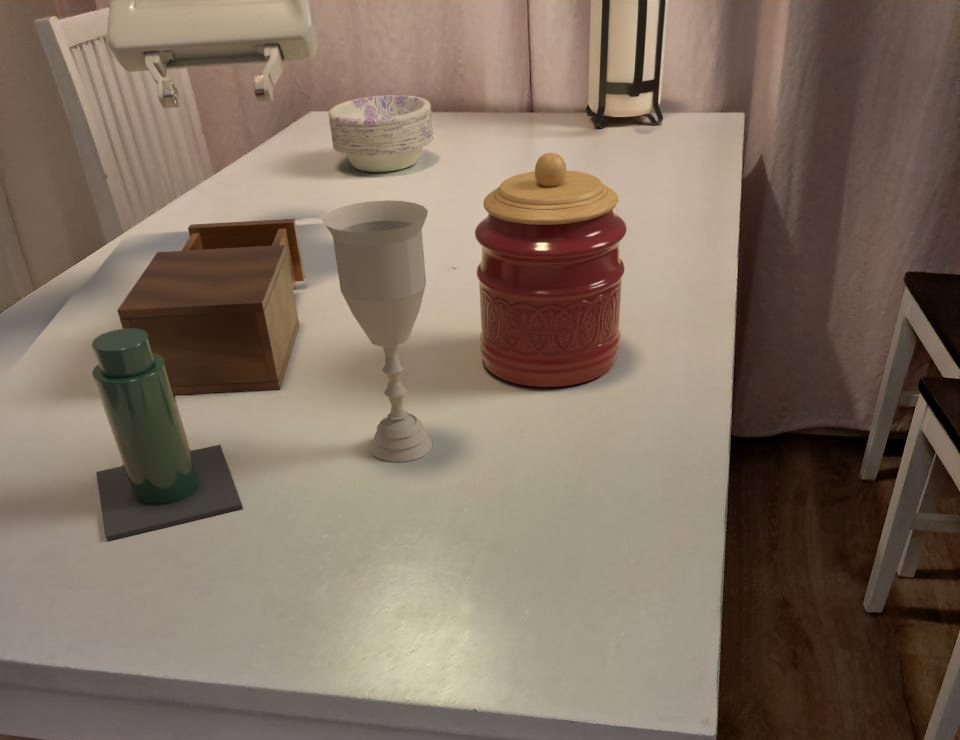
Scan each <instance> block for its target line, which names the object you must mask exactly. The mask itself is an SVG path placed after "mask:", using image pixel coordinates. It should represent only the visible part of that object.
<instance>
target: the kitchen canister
mask: <svg viewBox="0 0 960 740" xmlns="http://www.w3.org/2000/svg"><path fill="white" fill-rule="evenodd" d="M618 203H619V197H618V193H617V192H616V191H615V190H614V189H612V188H611V187H609V186H607V185H605V184H604V183H603V182H602V180H601V179H599V178H598V177H597V176H595V175H593V174H590V173H586V172H583V171H575V170H567V165H566V161H565V159H564V158H563V157H562V156H561V155H560V154H559V153H556V152H547V153H544V154H542V155H541V156H539V157H538V159H537V161H536V163H535V166H534V171H529V172H524V173H520V174H516V175H513V176H511V177H508V178H506V179H504V180H503V181H502V182H501V183H500V184H499V186H498V187H497V188H495V189H493V190H492V191H491V192H489V193H488V194H487V195H486V196H485V197H484V199H483V203H482V204H483V208H484V210H485V211H486V212H487V213H488V214H487V216H485V218H483V219H482V220H481V221H480V222H479V223H478V224H477V226H476V228H475V230H474V237H475V239H476V241H477V243H478V244H479V245H480V246H481V261H480V262H479V264H478V265H477V268H476V277H477V279H478V283H479V284H478V285H479V306H480V326H481V327H480V334H479V342H480V343H479V345H480V347H479V348H480V353H481V355H482V358H483V364H484V366H485V368H486V369H487V370H488V371H489V372H490V373H491V374H493V375H494V376H496V377H497V378H499V379H501V380H504V381H506V382H509V383H512V384H516V385H521V386H526V387H536V388H560V387H568V386H574V385H579V384H583V383H586V382H590V381H592V380H595V379H597V378H599V377H602V376H603V375H604V374H606V373H607V372H609V371H610V370H611V369H612V368H613V367H614V365H615V364H616V362H617V358H618V357H617V356H618V352H619V350H620V346H621V335H622V334H621V329H620V319H621V318H620V317H621V316H620V315H621V301H622V300H621V299H622V279H623V276H624V274H625V268H626V267H625V263H624V261H623V259H622V258H621V257H620V242H621V241H622V240H623V239H624V238H625V236H626V234H627V230H628V229H627V223H626V222H625V221H624V219H623V218H622V217H621V216H620V215H619V214H617V213H615V212H614V209H615V208H616V206H617V205H618Z"/></svg>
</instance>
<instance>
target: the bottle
mask: <svg viewBox="0 0 960 740" xmlns="http://www.w3.org/2000/svg"><path fill="white" fill-rule="evenodd" d="M91 348H92V350H93V353H94V357H95V359H96V363H97V365H95V366H94V368H93V369H92V372H91V375H92V378H93V381H94V384H95V388H96V390H97V392H98V395H99V399H100V402H101V404H102V407H103V410H104V413H105V416H106V418H107V419H106V420H107V421H108V425H109V427H110V430H111V433H112V436H113V439H114V441H115V445H116V448H117V451H118V454H119V457H120V459H121V462H122V466H124V468H125V471H126V474H127V477H128V480H129V483H130V486H131V488H132V491H133V494H134V497H135V498H136V499H137V500H138V501H140V502H142V503H145V504H150V505H162V504H169V503H173V502H176V501H179V500H182V499H184V498H186V497H187V496H189V495H190V494H192V493H193V492H194V491H195V490H196V489H197V487H198V484H199V479H198V476H197V472H196V469H195V465H194V462H193V458H192V455H191V451H192V450H191V448H190V445H189V441H188V438H187V434H186V431H185V427H184V423H183V420H182V416H181V414H180V409H179V407H178V406H179V405H178V403H177V400H176V395H174V392H173V388H172V385H171V381H170V378H169V375H168V371H167V368H166V364H165V361H164V359H163V357H161V356H160V355H158V354H156V353H153V350H152V347H151V344H150V340H149V337H148V334H147V333H146V332H145V331H143V330H140V329H133V328H128V329H123V328H119V329H115V330H110V331H107V332H104V333H102V334H100V335H97V337H95V338H94V339H93V340H92V342H91Z"/></svg>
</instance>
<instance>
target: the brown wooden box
mask: <svg viewBox="0 0 960 740" xmlns="http://www.w3.org/2000/svg"><path fill="white" fill-rule="evenodd" d="M116 312H117V314H118V318H119V319H120V320H119V321H120V324H121V327H122V329H128V328H133V329H140V330H143V331H145V332H146V333H147V334H148V337H149V340H150V344H151V347H152V350H153V353H156V354H158V355H160V356H161V357H163V359H164V361H165V364H166V368H167V371H168V375H169V378H170V381H171V385H172V388H173V392H174V395H175V396H179V395H198V394H199V395H200V394H217V393H219V394H220V393H235V392H237V393H238V392H255V391H256V392H257V391H271V390H272V391H274V390H281V387H282V383H283V380H284V377H285V374H286V371H287V367H288V363H289V360H290V357H291V354H292V350H293V348H294V344H295V341H296V337H297V334H298V331H299V328H300V321H299V316H298V315H299V314H298V310H297V304H296V299H295V294H294V289H293V287H292V281H291V276H290V270H289V265H288V259H287V254H286V248H285V245H276V246H258V247H240V248H222V249H204V250H186V251H181V250H172V251H171V250H169V251H157V252H156V254H155V255H154V256H153V258H152V260H151V261H150V262H149V264H148V265H147V267H146V268H145V270H144V271H143V272H142V274H141V276H140V277H139V278H138V280H137V281H136V282H135V284H134V285H133V287H132V288H131V290H130V291H129V293H128V294H127V295H126V297H125V298H124V299H123V301H122V302H121V304H120V305H119V307H118V308H117V310H116Z"/></svg>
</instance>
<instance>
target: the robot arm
mask: <svg viewBox="0 0 960 740" xmlns="http://www.w3.org/2000/svg"><path fill="white" fill-rule="evenodd" d="M107 3H108V8H109V9H108V17H107V35H106V37H107V44H108V48H109V49H110V51H111V53H112V55H113V57H114V58H115V60H116V61H117V62H118V64H119V65H120V66H121V67H122V68H123V69H124V70H125V71H126V72H130V73H132V72H133V73H134V72H135V73H136V72H147V71H148V72H149V73H150V75H151V77H152V80H153V81H154V82H155V83H156V85H157V98H158V101H159V103H160V105H161V106H162V109H170V108H179V107H180V103H179V101H178V100H179V99H180V97H179V91H178V89H177V88H176V87H175V86H176V85H175V83H174V81H173V80H164V78H165V79H166V78H167V77H168V70H181V69H182V70H183V69H194V68H212V67H225V66H226V67H228V66H242V65H243V66H244V65H257V64H265V66H264V68H263V71H262V72H261V74H253V76H252V77H253V84H254V85H253V93H254V96H255V98H256V101H257V103H268V102H273V101H274V89H273V88H274V86H275V85H276V83H277V81H278V80H279V78H280V76H281V75H282V73H283V71H284V63H288V62H305V61H306V62H307V61H311V60H312V59H314V57H315V56H316V54H317V52H318V51H319V40H318V39H319V38H318V32H317V25H316V19H315V16H314V12H313V8H312V5H311V4H312V3H311V0H107Z"/></svg>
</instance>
